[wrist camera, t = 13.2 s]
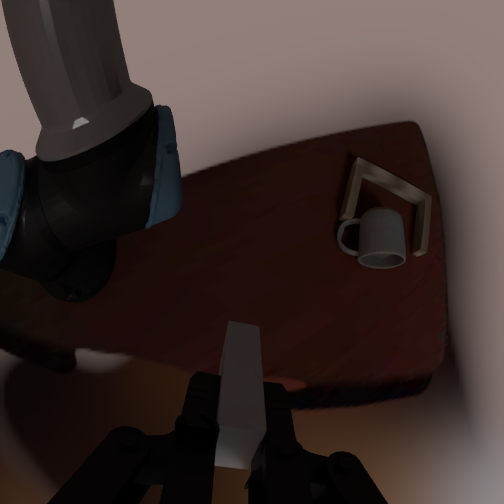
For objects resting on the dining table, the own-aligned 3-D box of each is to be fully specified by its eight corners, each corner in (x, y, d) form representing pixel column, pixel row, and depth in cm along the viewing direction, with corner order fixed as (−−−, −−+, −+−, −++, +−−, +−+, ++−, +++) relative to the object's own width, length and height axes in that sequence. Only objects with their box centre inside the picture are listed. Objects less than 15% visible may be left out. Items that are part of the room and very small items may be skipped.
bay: (338, 219, 45) (345, 212, 42) (351, 165, 48) (357, 156, 45) (417, 256, 44) (426, 252, 41) (422, 202, 48) (431, 196, 45)
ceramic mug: (388, 226, 45) (411, 209, 38) (389, 270, 43) (414, 259, 36) (335, 214, 45) (352, 194, 38) (333, 262, 43) (352, 248, 35)
